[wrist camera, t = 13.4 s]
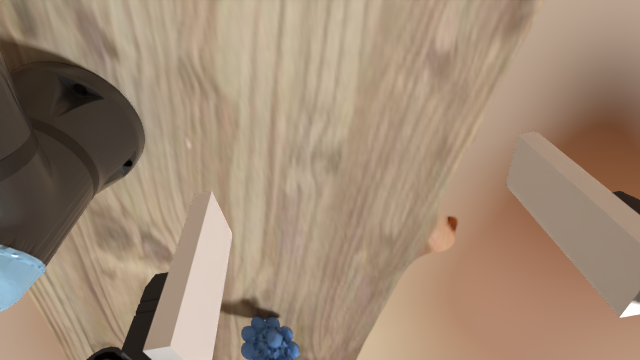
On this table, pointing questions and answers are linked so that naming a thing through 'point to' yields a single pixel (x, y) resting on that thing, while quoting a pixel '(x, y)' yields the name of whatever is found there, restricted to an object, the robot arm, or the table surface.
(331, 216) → the table surface
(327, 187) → the table surface
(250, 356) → the blue flower toy
